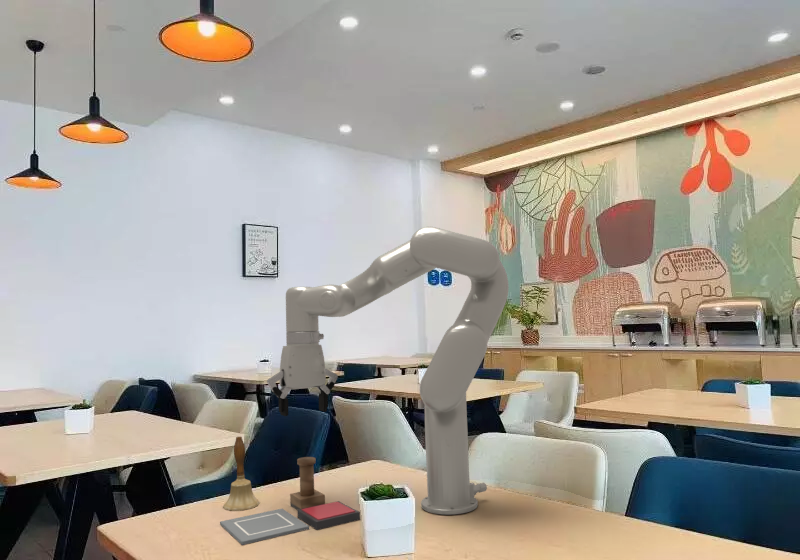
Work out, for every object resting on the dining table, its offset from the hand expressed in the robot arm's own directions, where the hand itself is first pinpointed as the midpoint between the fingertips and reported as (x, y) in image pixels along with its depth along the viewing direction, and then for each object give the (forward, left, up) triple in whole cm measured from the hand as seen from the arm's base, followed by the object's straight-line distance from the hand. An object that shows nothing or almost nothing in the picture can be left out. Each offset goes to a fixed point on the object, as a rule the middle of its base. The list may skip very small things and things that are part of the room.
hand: (304, 413), depth 140 cm
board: (+13, +7, -21) cm, 26 cm away
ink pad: (0, +11, -21) cm, 24 cm away
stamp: (0, 0, -21) cm, 21 cm away
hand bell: (+12, -11, -22) cm, 27 cm away
